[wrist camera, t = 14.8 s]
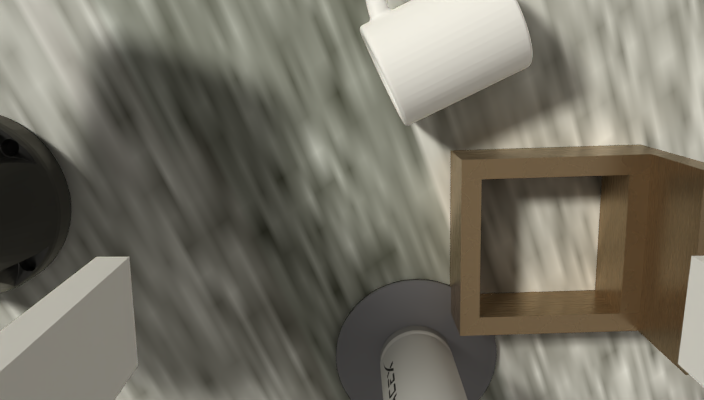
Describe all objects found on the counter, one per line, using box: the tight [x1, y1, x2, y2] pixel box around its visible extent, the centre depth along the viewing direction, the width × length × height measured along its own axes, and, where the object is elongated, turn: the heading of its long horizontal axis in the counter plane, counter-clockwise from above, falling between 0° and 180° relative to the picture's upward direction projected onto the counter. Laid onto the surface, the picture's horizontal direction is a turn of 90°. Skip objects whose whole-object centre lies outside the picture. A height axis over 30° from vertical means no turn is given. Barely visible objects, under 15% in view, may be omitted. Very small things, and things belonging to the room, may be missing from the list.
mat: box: [336, 279, 497, 400], centre depth 54 cm, size 14×14×1 cm
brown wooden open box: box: [450, 145, 704, 375], centre depth 46 cm, size 16×14×12 cm
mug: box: [360, 0, 533, 126], centre depth 44 cm, size 12×10×8 cm
